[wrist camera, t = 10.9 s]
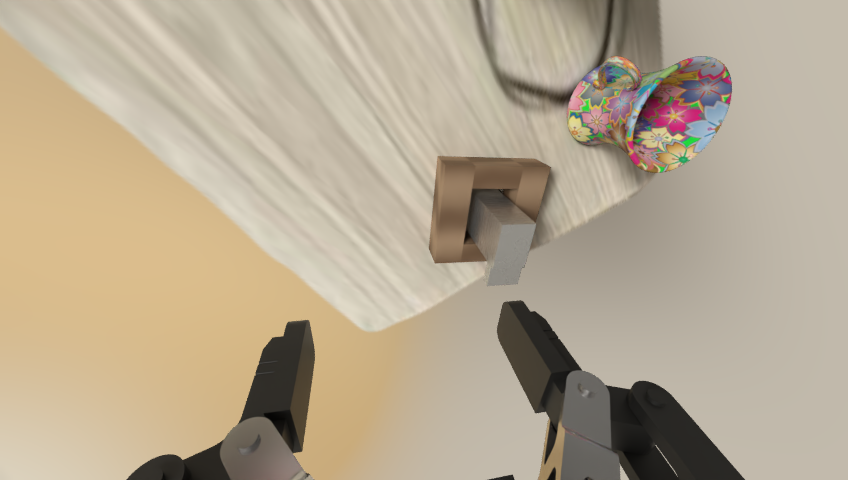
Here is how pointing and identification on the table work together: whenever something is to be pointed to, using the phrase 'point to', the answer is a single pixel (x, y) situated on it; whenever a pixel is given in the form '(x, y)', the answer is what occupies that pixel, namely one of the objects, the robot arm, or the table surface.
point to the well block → (454, 193)
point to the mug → (652, 109)
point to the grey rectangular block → (499, 235)
